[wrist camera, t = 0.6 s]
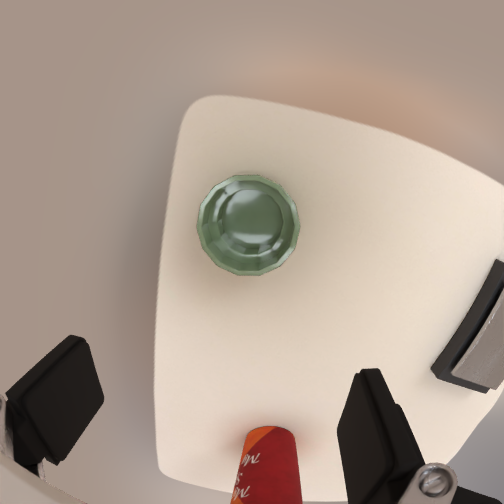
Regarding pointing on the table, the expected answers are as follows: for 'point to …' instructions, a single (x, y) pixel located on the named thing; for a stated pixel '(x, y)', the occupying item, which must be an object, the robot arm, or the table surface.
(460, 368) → the platform
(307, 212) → the table surface
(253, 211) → the bowl
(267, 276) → the table surface
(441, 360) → the scale base
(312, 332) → the table surface
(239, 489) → the coffee cup
